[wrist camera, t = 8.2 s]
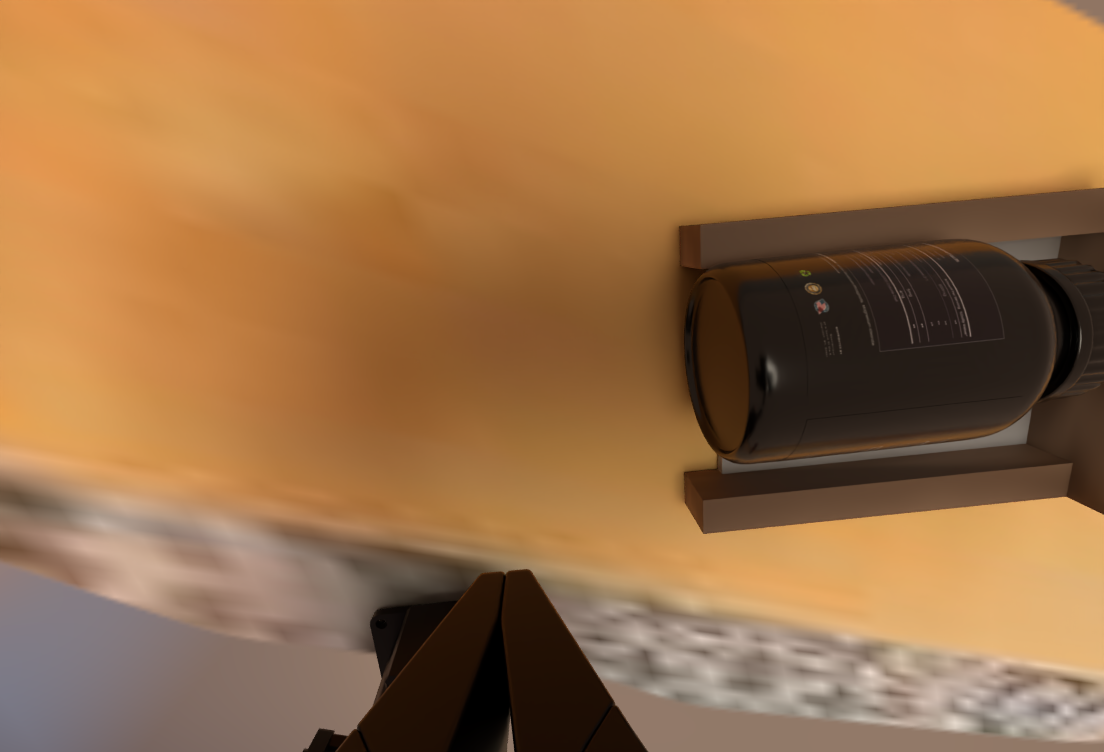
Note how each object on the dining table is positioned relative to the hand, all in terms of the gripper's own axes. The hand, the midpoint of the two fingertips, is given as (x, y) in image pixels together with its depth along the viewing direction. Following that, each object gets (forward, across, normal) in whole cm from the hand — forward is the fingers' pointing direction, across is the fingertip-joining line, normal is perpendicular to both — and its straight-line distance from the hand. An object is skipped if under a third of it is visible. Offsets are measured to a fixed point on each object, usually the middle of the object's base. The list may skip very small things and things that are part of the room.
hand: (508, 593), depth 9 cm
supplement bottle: (+9, -6, -1) cm, 11 cm away
